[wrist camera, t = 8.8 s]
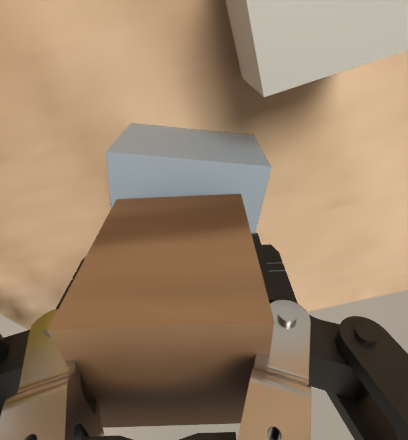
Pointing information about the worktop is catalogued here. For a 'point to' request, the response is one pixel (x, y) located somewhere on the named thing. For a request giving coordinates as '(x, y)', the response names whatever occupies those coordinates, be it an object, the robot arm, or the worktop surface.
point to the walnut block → (168, 312)
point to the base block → (187, 165)
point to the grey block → (312, 38)
